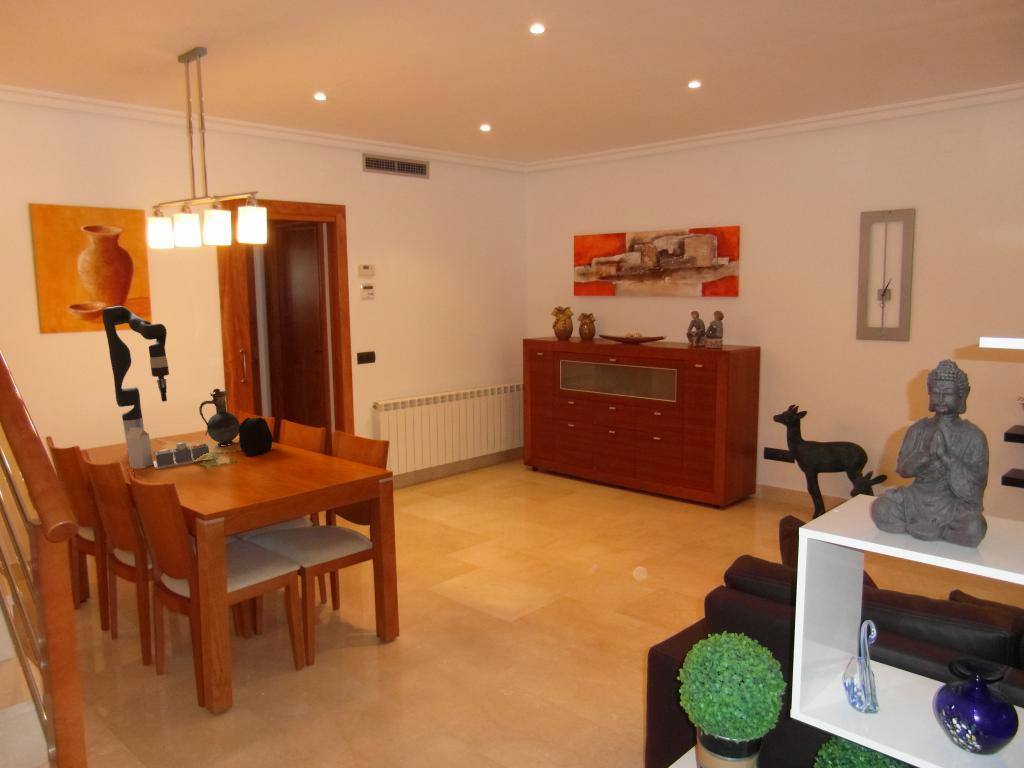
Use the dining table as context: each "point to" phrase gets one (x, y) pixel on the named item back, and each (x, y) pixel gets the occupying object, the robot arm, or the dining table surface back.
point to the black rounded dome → (255, 436)
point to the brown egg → (199, 445)
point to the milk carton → (139, 448)
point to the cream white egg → (163, 451)
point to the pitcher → (221, 420)
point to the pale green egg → (181, 446)
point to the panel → (179, 457)
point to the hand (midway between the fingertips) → (164, 401)
